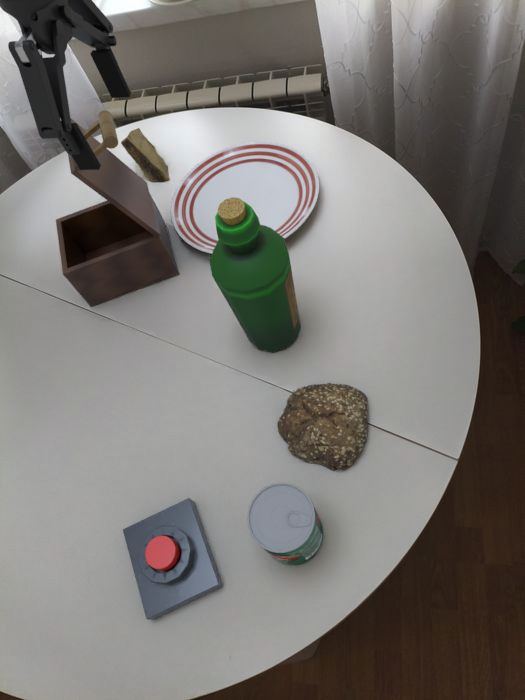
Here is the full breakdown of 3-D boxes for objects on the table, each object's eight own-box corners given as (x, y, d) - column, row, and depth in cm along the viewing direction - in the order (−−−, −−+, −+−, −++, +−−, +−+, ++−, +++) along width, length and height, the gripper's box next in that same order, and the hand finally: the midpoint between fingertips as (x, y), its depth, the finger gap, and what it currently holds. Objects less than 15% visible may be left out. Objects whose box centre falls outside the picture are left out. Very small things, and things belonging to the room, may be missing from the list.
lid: (70, 173, 75) (107, 142, 72) (61, 116, 81) (95, 87, 79) (157, 237, 89) (189, 213, 87) (143, 185, 95) (173, 161, 93)
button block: (128, 532, 77) (116, 526, 74) (194, 501, 77) (185, 494, 74) (152, 620, 71) (140, 618, 67) (223, 586, 71) (215, 582, 68)
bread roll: (376, 394, 80) (376, 379, 75) (358, 476, 74) (357, 465, 70) (291, 378, 83) (286, 363, 79) (269, 456, 78) (262, 444, 74)
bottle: (320, 317, 88) (294, 189, 64) (283, 370, 84) (241, 257, 60) (265, 292, 92) (221, 164, 68) (228, 342, 89) (169, 225, 65)
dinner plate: (147, 216, 106) (141, 204, 103) (252, 133, 111) (248, 119, 108) (239, 293, 93) (235, 281, 90) (353, 194, 98) (351, 181, 96)
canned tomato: (259, 561, 72) (240, 546, 62) (270, 500, 75) (253, 478, 66) (320, 571, 70) (309, 558, 60) (328, 508, 73) (319, 486, 64)
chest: (91, 307, 98) (62, 274, 89) (82, 254, 104) (55, 219, 96) (179, 274, 97) (159, 238, 89) (165, 224, 104) (146, 185, 96)
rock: (129, 138, 115) (111, 168, 109) (140, 106, 108) (122, 136, 102) (176, 164, 117) (162, 195, 112) (190, 135, 111) (175, 166, 105)
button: (146, 546, 72) (141, 543, 70) (174, 532, 72) (169, 530, 71) (155, 576, 70) (150, 574, 68) (183, 562, 70) (179, 560, 69)
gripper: (-3, 31, 49) (103, 201, 67) (87, -113, 60) (157, 67, 78) (-72, 37, 51) (49, 201, 69) (27, -103, 62) (109, 70, 80)
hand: (106, 130), depth 73 cm, fingers open, 13 cm apart
